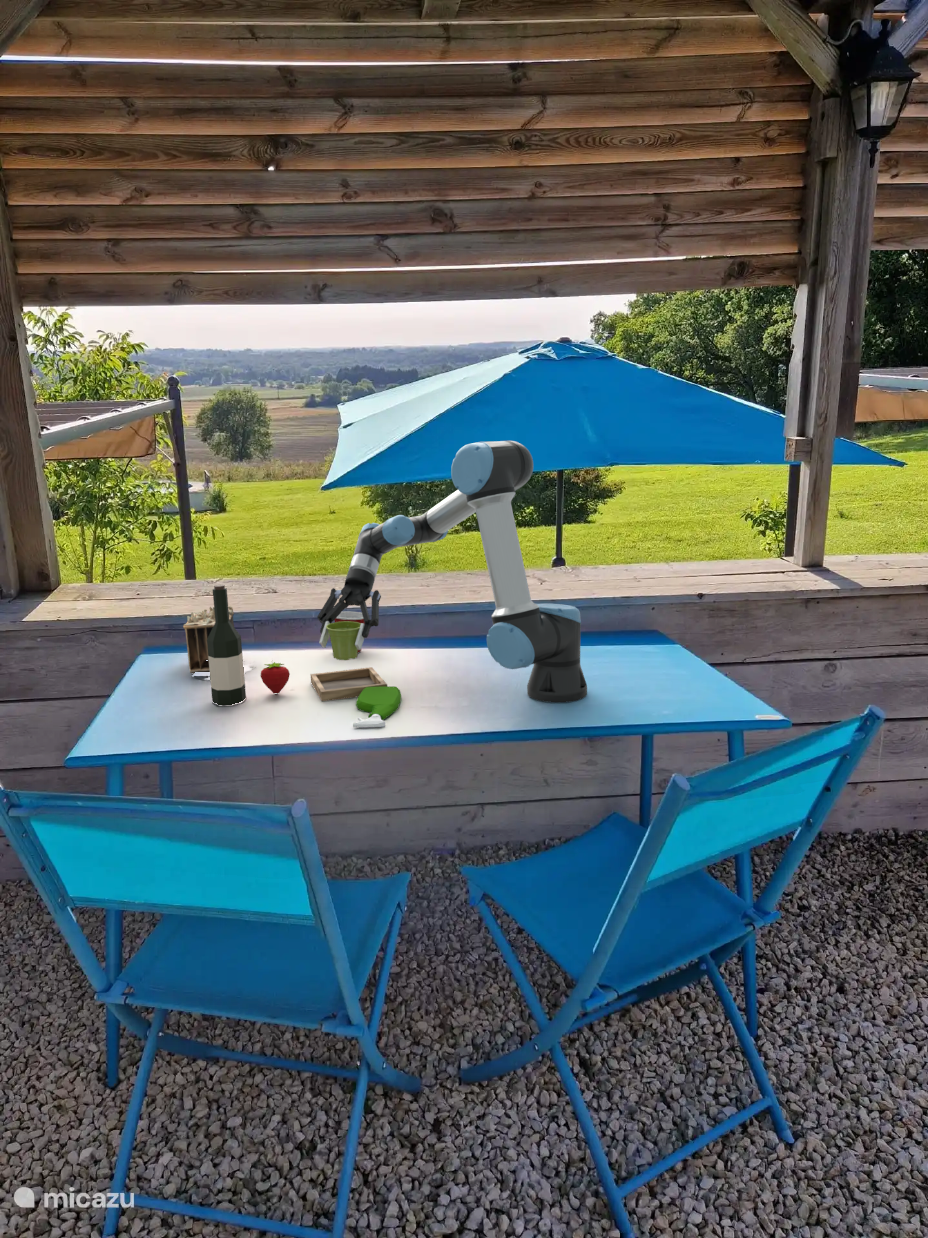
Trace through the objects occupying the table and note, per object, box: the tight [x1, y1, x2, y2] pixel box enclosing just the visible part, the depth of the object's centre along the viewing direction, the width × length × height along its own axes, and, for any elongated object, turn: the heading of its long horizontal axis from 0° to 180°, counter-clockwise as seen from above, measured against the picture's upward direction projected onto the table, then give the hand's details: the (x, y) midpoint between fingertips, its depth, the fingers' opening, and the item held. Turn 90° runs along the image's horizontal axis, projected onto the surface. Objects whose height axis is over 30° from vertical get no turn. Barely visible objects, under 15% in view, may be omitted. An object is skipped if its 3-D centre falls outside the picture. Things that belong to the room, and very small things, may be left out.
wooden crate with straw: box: [182, 605, 235, 674], centre depth 255 cm, size 25×25×19 cm
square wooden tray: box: [310, 666, 388, 702], centre depth 235 cm, size 17×17×2 cm
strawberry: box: [260, 661, 291, 694], centre depth 230 cm, size 6×8×10 cm
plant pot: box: [326, 621, 361, 661], centre depth 232 cm, size 9×9×9 cm
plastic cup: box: [333, 611, 365, 653], centre depth 269 cm, size 11×11×12 cm
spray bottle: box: [352, 685, 402, 729], centre depth 216 cm, size 3×11×24 cm
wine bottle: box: [207, 584, 247, 705], centre depth 223 cm, size 8×8×30 cm
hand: (339, 646), depth 230 cm, fingers closed on plant pot, 9 cm apart
